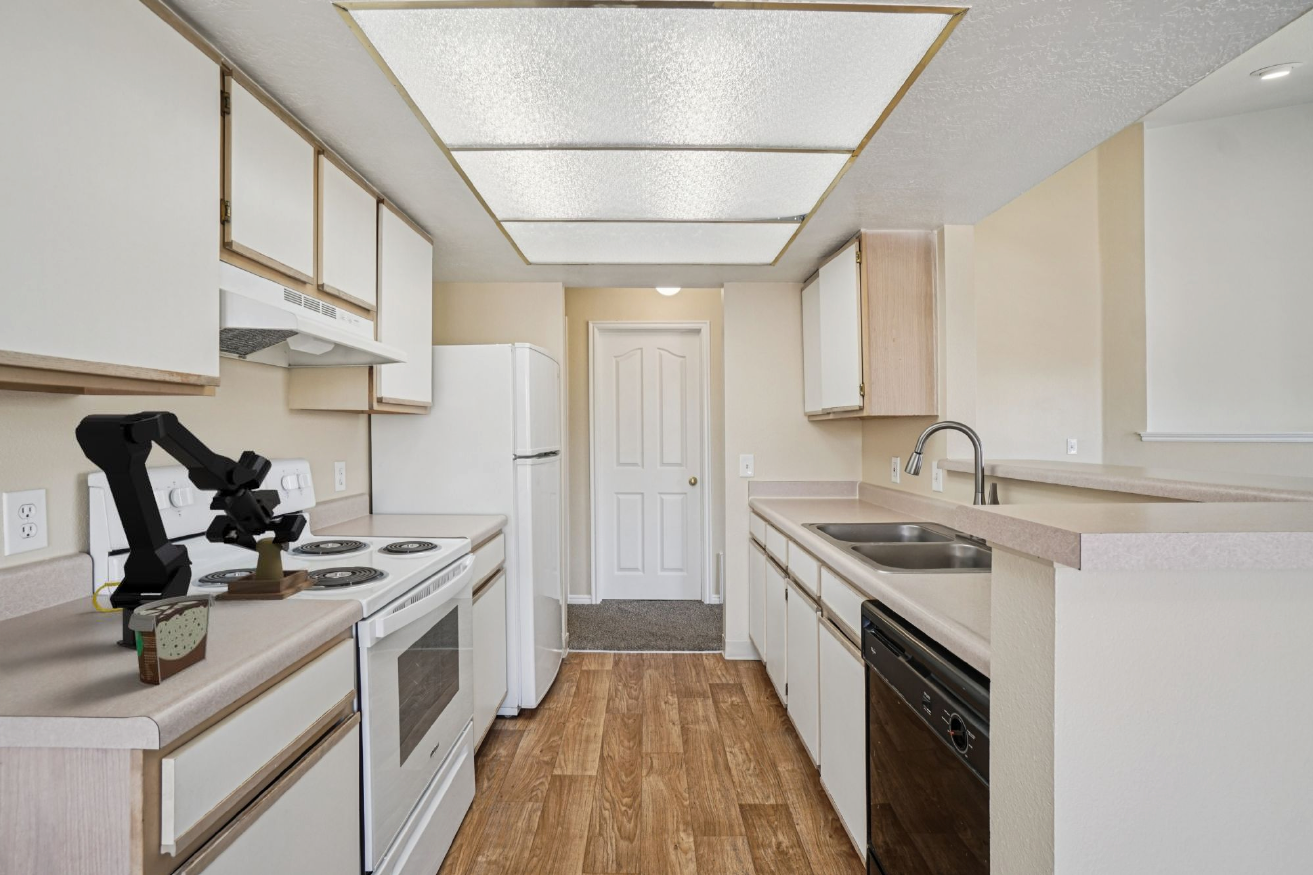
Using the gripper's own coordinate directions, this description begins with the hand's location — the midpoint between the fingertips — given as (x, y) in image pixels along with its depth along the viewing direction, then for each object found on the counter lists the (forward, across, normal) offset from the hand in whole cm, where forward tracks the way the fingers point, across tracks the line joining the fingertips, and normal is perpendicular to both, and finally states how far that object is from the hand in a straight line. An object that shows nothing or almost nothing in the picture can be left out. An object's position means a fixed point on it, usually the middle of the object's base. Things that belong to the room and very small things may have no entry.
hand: (273, 550), depth 134 cm
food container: (-27, -12, +41) cm, 50 cm away
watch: (-4, +22, +17) cm, 28 cm away
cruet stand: (+5, 0, +7) cm, 9 cm away
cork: (+5, 0, +7) cm, 8 cm away
